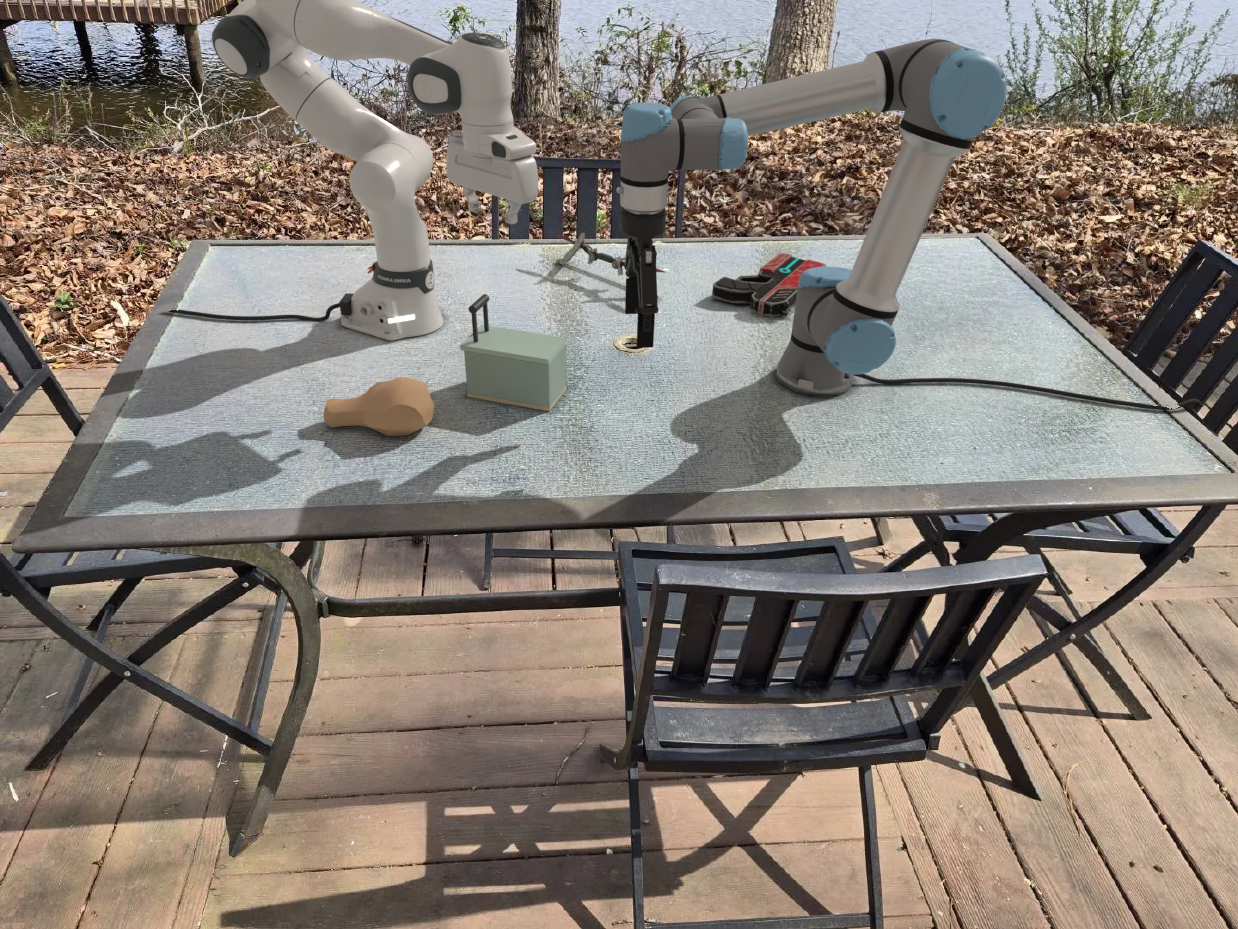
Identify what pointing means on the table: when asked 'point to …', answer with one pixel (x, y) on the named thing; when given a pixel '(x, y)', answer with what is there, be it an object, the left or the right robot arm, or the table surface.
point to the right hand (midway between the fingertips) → (638, 329)
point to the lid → (509, 340)
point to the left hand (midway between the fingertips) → (493, 217)
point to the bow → (592, 255)
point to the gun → (766, 286)
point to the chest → (516, 380)
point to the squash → (385, 408)
